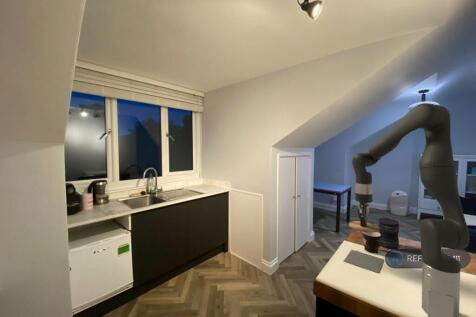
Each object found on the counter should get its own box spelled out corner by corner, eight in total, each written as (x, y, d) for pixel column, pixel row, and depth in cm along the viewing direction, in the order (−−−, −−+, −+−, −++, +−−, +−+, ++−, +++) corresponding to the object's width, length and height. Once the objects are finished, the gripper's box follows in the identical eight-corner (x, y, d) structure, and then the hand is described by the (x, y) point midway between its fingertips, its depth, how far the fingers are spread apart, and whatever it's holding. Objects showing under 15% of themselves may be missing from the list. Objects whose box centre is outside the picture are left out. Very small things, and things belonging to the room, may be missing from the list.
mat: (378, 273, 92) (378, 272, 92) (343, 261, 103) (343, 260, 103) (383, 259, 103) (383, 259, 103) (351, 250, 113) (351, 249, 113)
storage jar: (400, 251, 111) (400, 225, 110) (378, 247, 116) (378, 222, 115) (397, 244, 119) (397, 219, 118) (377, 240, 124) (377, 217, 124)
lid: (376, 234, 93) (376, 223, 93) (346, 227, 102) (346, 217, 101) (381, 226, 102) (381, 216, 102) (352, 220, 111) (352, 211, 111)
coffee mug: (362, 245, 119) (362, 228, 118) (379, 248, 114) (379, 231, 114) (362, 254, 109) (362, 236, 108) (381, 258, 104) (381, 239, 104)
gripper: (369, 195, 94) (369, 231, 94) (375, 190, 104) (375, 223, 104) (351, 193, 99) (351, 227, 99) (358, 189, 109) (358, 220, 110)
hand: (363, 225), depth 102 cm, fingers closed on lid, 2 cm apart
